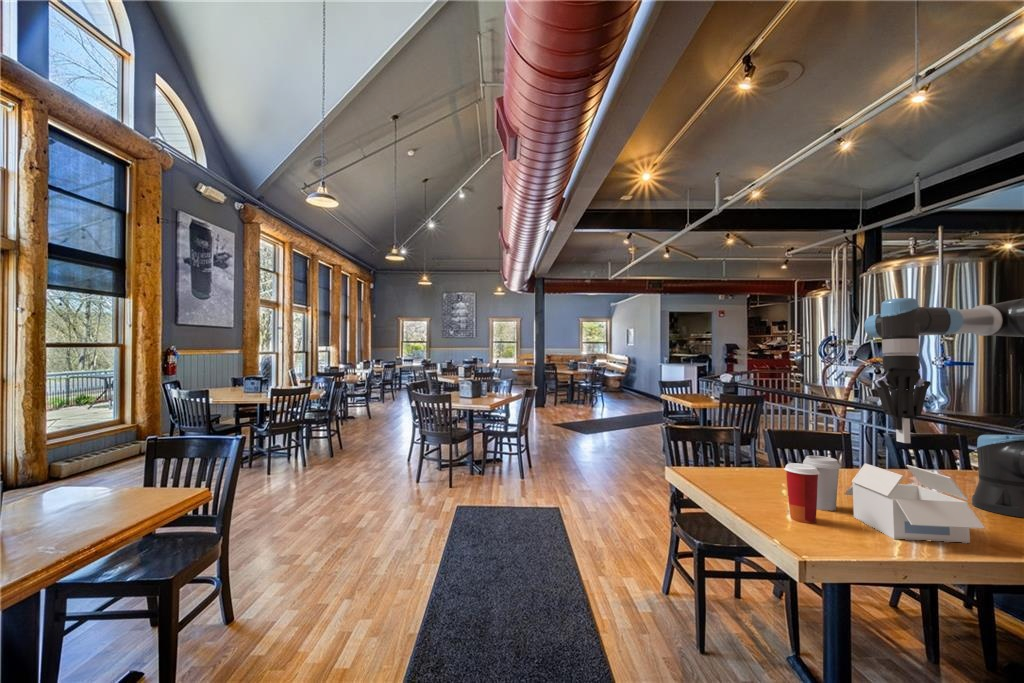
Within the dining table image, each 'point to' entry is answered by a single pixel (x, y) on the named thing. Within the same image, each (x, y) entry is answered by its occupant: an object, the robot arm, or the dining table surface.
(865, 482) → the flap
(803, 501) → the coffee cup
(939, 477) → the flap
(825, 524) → the dining table surface
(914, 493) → the white carton
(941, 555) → the dining table surface
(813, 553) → the dining table surface
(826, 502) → the coffee cup
